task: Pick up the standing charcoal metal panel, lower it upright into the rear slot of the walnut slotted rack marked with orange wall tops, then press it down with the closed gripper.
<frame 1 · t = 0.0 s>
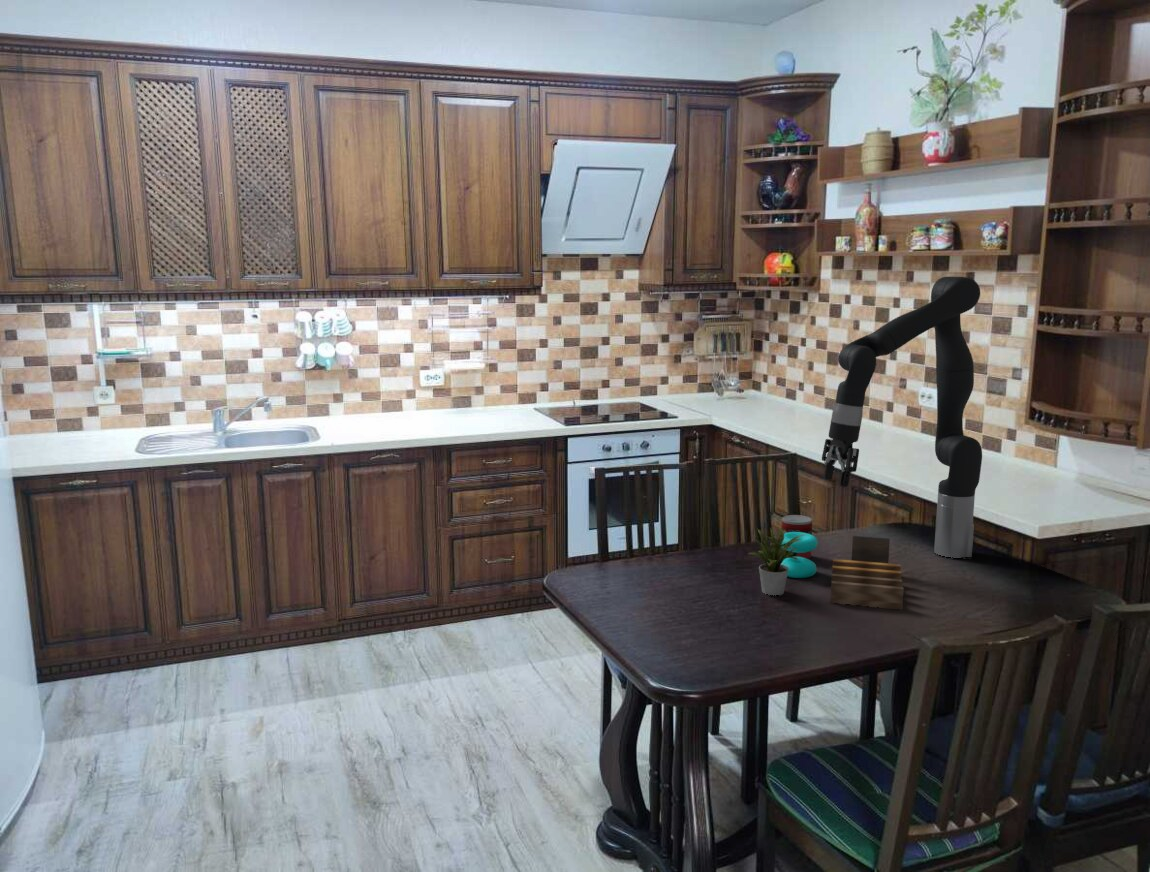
hand: (835, 482, 238), 22 cm above the table, tool pointing down, fingers open, 8 cm apart
slotted rack: (865, 593, 221), on the table
metal panel: (869, 573, 235), on the table
house plant: (775, 594, 221), on the table
donuts: (796, 573, 236), on the table
canned food: (795, 558, 248), on the table
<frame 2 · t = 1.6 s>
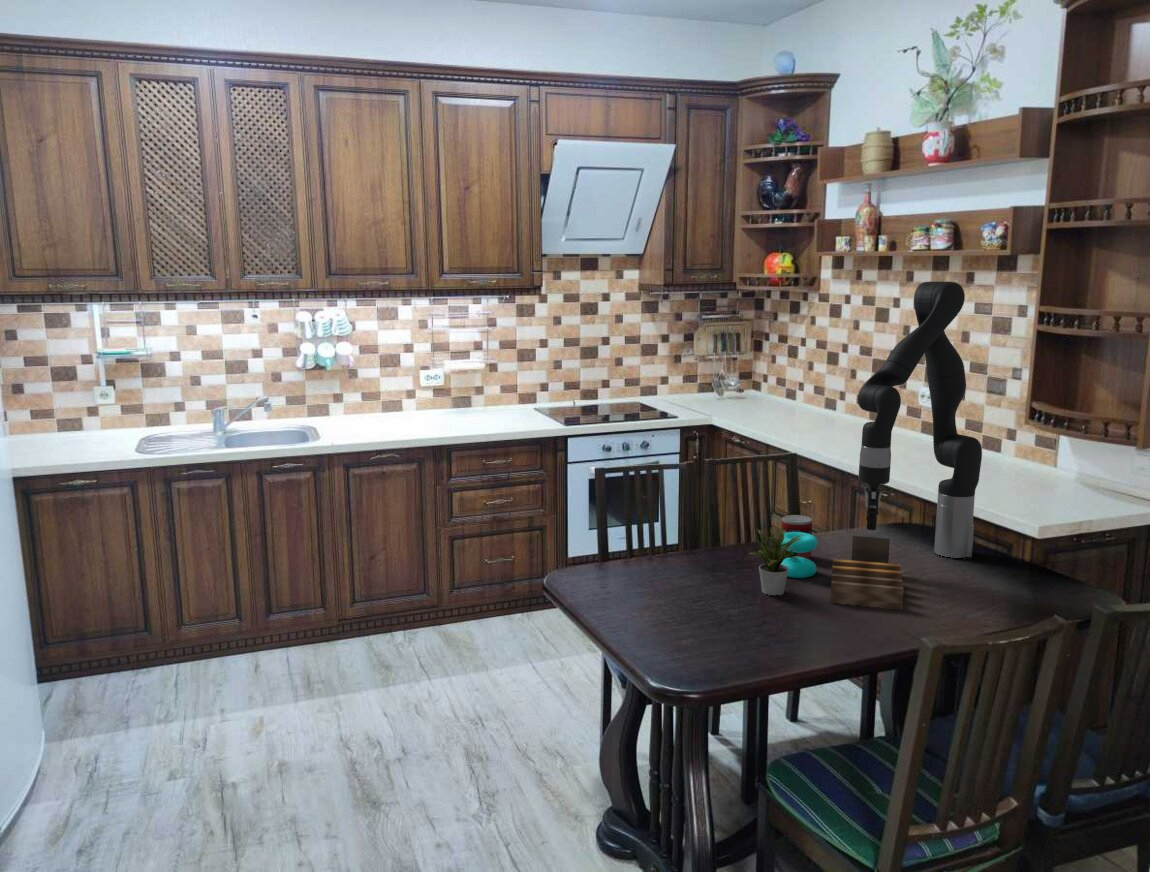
hand: (870, 525, 233), 13 cm above the table, tool pointing down, fingers open, 8 cm apart
nothing on the table moved.
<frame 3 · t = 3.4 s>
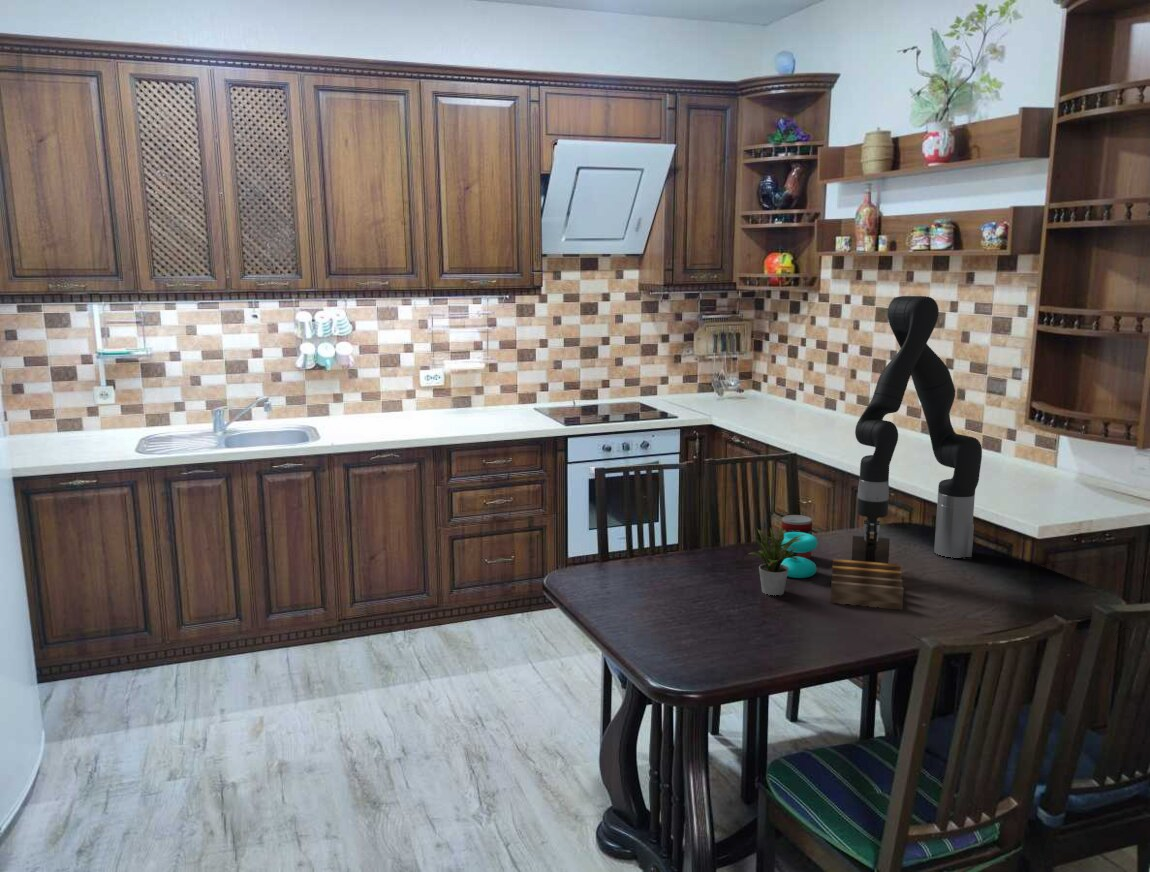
hand: (869, 561, 235), 3 cm above the table, tool pointing down, fingers closed on metal panel, 2 cm apart
metal panel: (869, 572, 235), on the table, touching gripper
everything else where it was.
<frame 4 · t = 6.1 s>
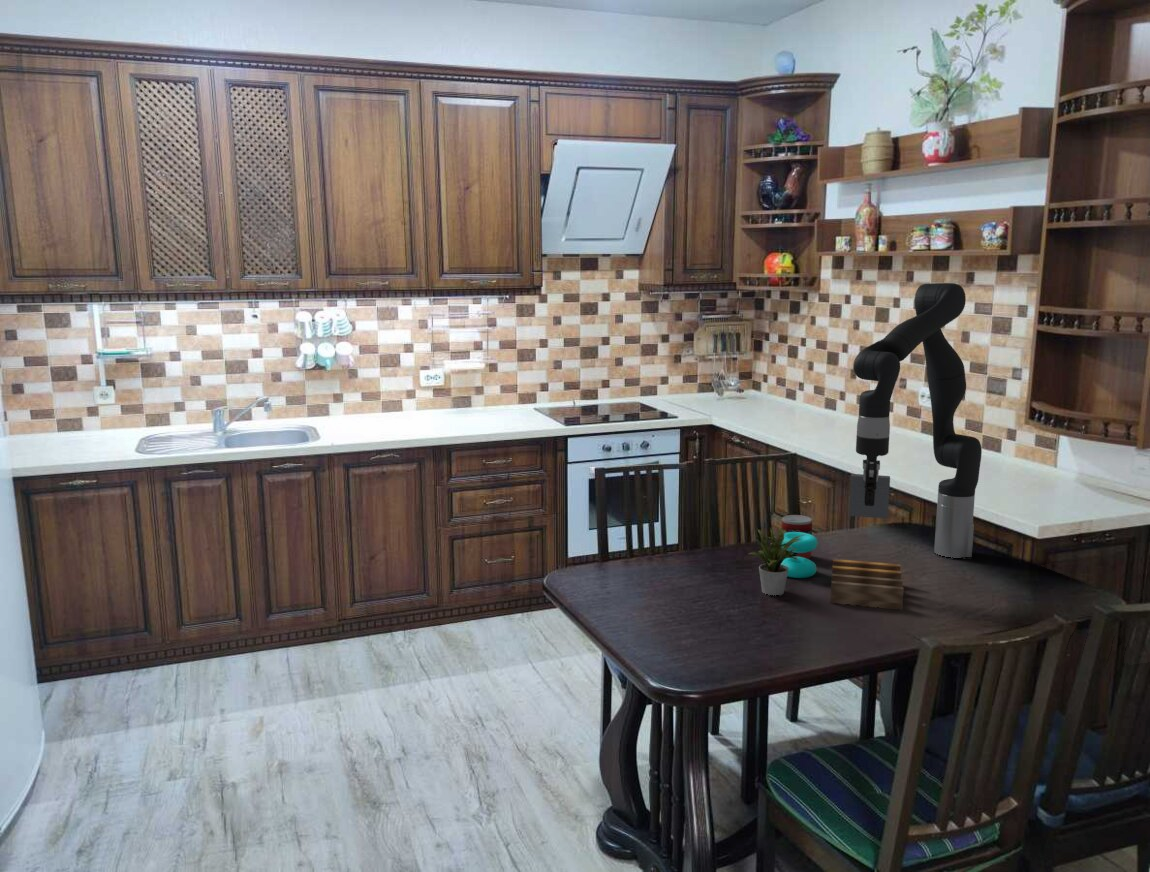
hand: (869, 503, 222), 21 cm above the table, tool pointing down, fingers closed on metal panel, 2 cm apart
metal panel: (868, 515, 222), point 18 cm above the table, touching gripper
everything else where it was.
when the fingers open (7 cm above the table, at t = 8.9 s): metal panel drops 1 cm, resting on slotted rack.
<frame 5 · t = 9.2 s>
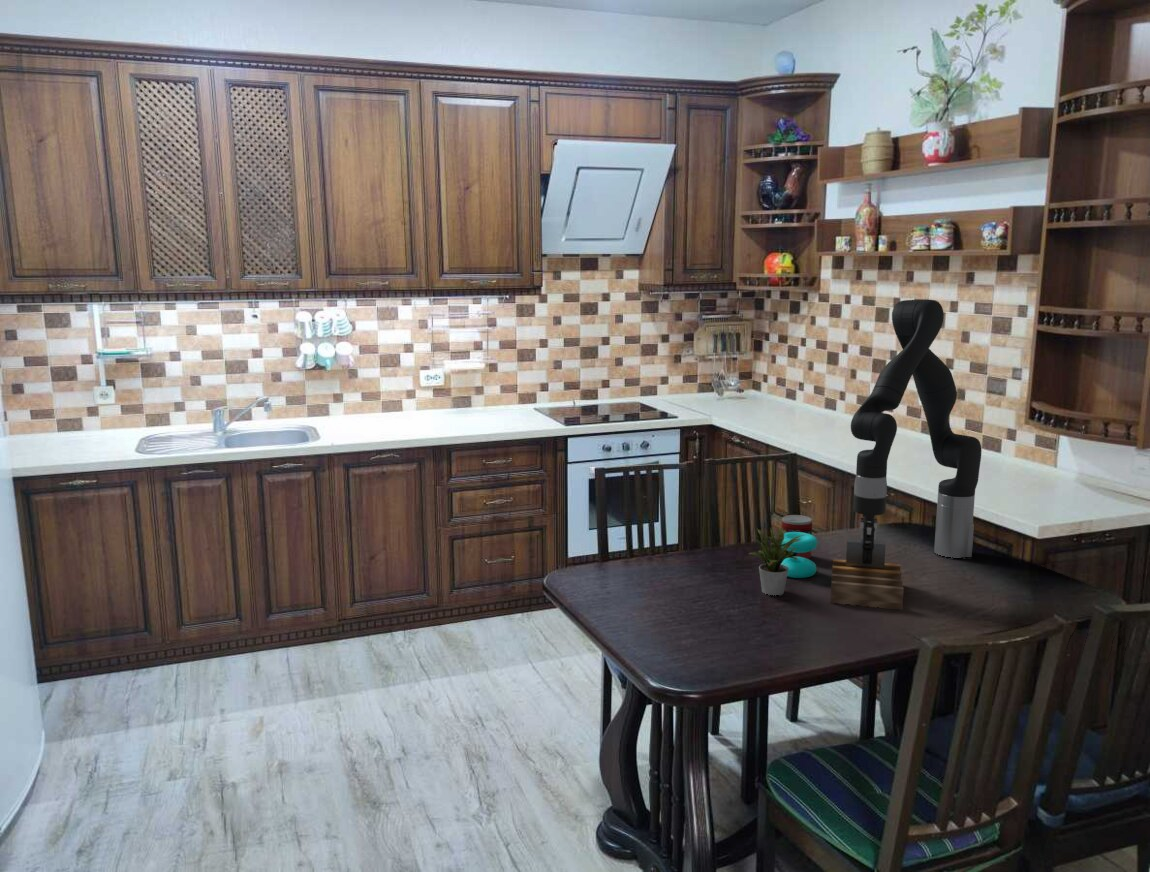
hand: (866, 559, 224), 7 cm above the table, tool pointing down, fingers open, 5 cm apart
metal panel: (864, 580, 225), point 1 cm above the table, touching slotted rack
everything else where it was.
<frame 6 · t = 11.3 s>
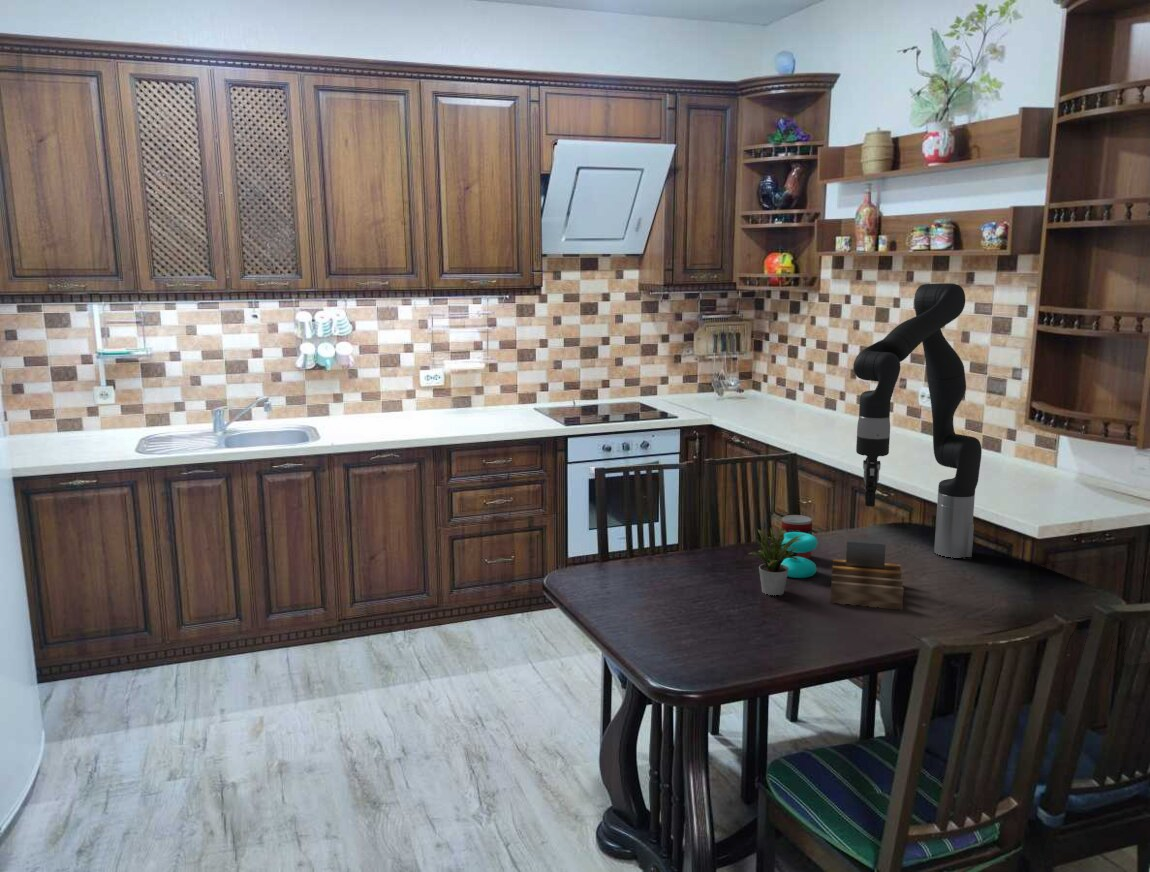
hand: (869, 503, 222), 21 cm above the table, tool pointing down, fingers open, 4 cm apart
nothing on the table moved.
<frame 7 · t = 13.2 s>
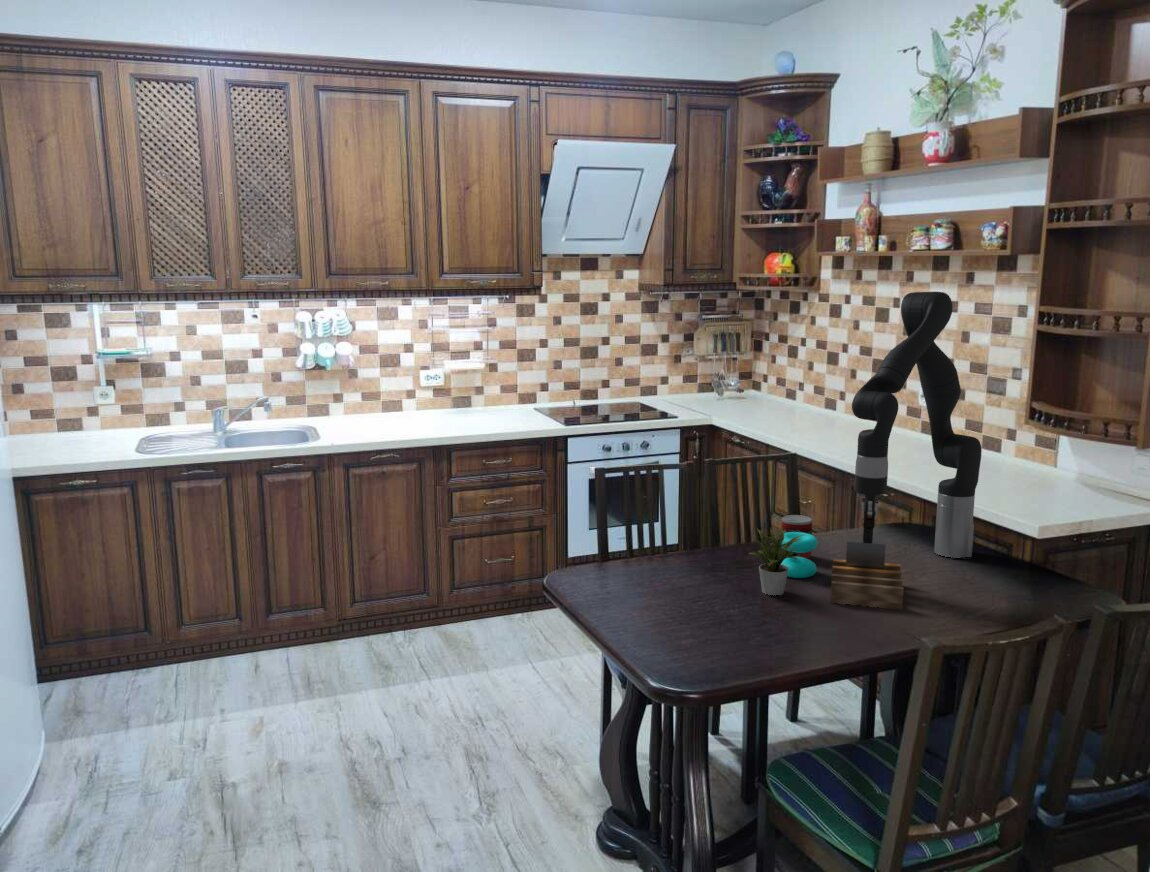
hand: (867, 541, 223), 11 cm above the table, tool pointing down, fingers closed
metal panel: (864, 580, 225), point 1 cm above the table, touching gripper, slotted rack
everything else where it was.
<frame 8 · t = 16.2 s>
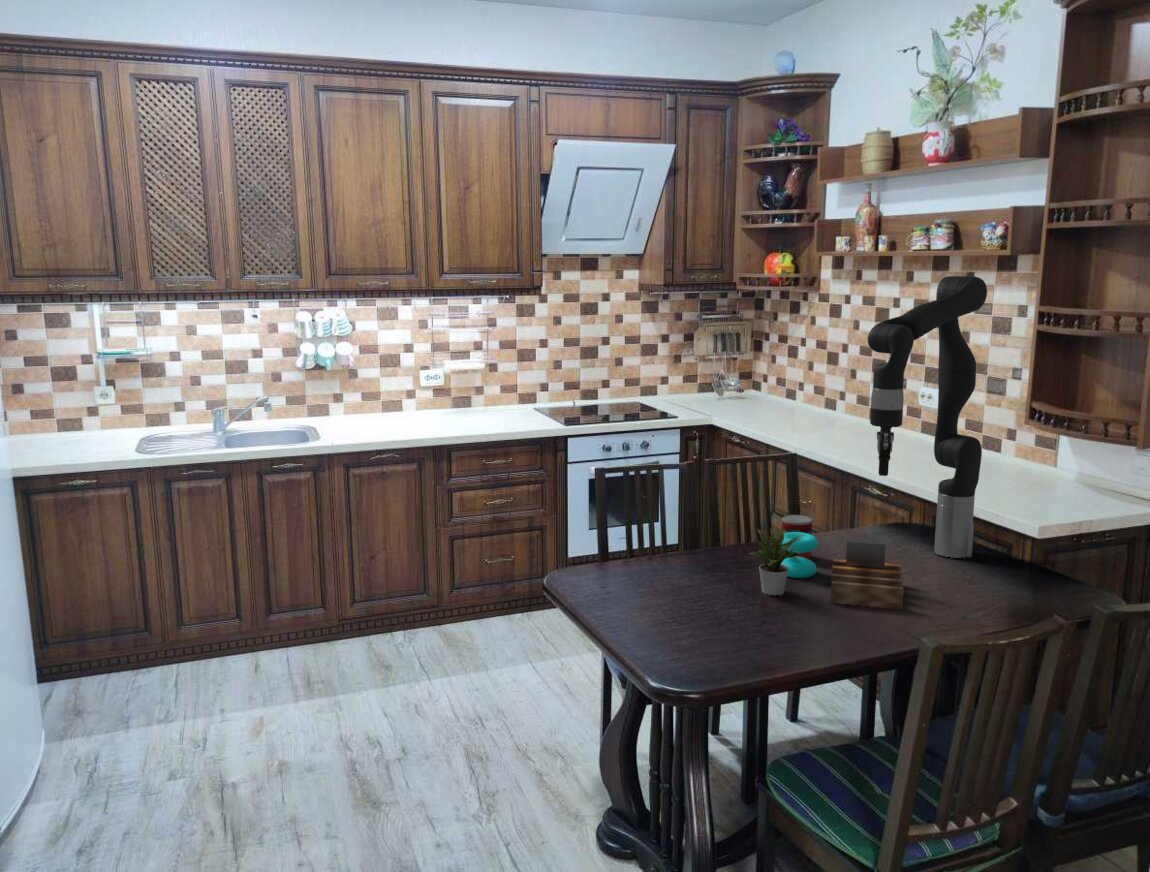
hand: (883, 475, 226), 27 cm above the table, tool pointing down, fingers closed
metal panel: (864, 580, 225), point 1 cm above the table, touching slotted rack
everything else where it was.
at the end: metal panel 0.4 cm from the target spot on the slotted rack, point 1.5 cm above the slotted rack's base; metal panel tilted 0°; the gripper is holding nothing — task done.
